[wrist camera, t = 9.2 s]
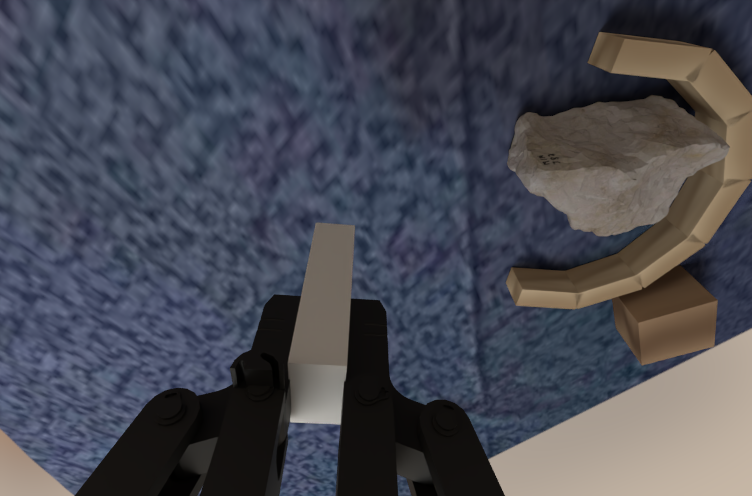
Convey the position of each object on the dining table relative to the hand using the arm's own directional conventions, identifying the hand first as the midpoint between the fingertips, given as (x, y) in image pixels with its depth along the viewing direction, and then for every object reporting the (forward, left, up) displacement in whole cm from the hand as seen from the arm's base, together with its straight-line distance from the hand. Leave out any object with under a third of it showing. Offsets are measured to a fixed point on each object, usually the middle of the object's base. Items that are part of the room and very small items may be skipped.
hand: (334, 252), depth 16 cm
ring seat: (+1, +18, -10) cm, 21 cm away
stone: (-2, +15, -11) cm, 18 cm away
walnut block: (+10, +24, -10) cm, 28 cm away
